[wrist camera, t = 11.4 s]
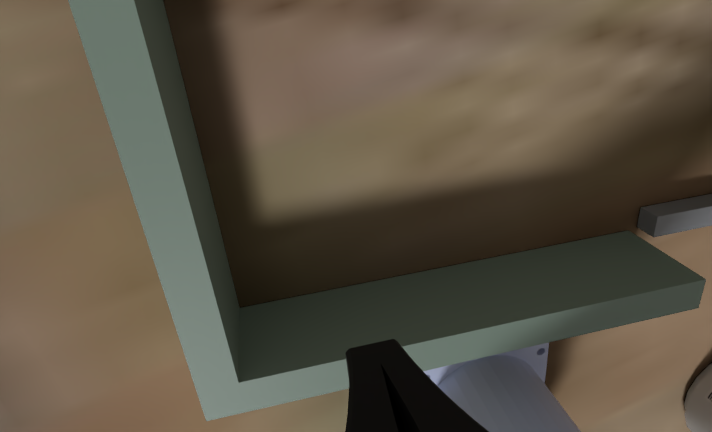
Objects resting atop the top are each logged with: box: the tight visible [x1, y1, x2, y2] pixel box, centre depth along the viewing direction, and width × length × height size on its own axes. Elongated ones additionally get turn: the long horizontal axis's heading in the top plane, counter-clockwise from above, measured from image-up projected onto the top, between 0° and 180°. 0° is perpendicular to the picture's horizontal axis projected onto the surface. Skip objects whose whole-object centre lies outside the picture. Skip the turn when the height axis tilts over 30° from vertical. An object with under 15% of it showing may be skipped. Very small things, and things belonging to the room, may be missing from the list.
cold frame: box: [68, 0, 706, 421], centre depth 19 cm, size 20×23×5 cm
